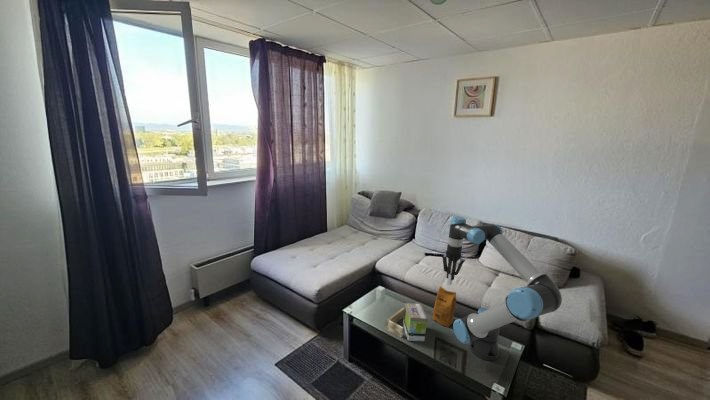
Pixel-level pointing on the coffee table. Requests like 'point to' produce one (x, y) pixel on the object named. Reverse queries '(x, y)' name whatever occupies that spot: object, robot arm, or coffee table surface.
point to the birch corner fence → (392, 322)
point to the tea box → (414, 322)
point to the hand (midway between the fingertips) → (449, 284)
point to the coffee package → (444, 307)
